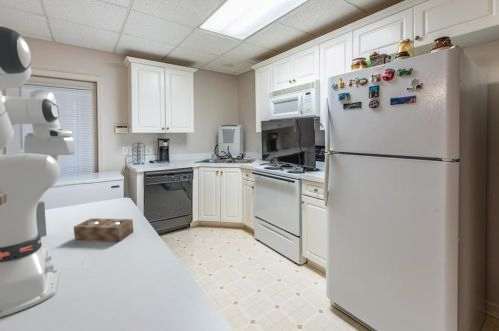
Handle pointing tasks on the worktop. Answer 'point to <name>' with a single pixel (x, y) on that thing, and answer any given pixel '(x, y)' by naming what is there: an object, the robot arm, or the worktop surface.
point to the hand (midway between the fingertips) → (51, 166)
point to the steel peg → (93, 222)
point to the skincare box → (41, 218)
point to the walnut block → (103, 230)
